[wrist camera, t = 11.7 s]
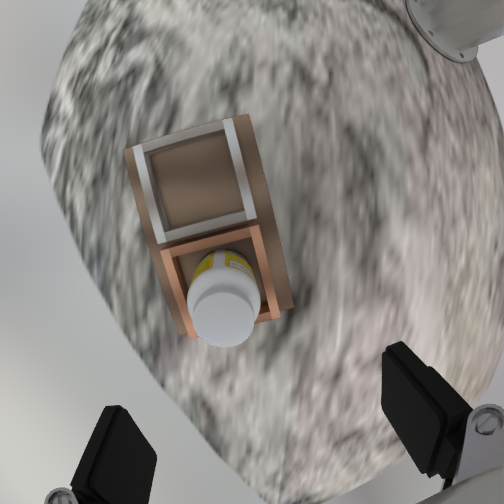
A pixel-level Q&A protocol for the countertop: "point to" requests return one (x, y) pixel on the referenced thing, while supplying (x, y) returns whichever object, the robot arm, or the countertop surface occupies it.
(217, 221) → the board
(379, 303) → the countertop surface
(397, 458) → the countertop surface
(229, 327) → the supplement bottle
